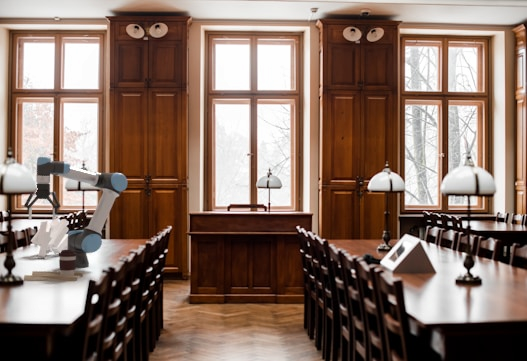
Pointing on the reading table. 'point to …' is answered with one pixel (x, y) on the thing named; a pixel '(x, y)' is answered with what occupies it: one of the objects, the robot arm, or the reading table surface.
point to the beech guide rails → (52, 276)
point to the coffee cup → (67, 262)
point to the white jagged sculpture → (52, 237)
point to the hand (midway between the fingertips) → (42, 219)
